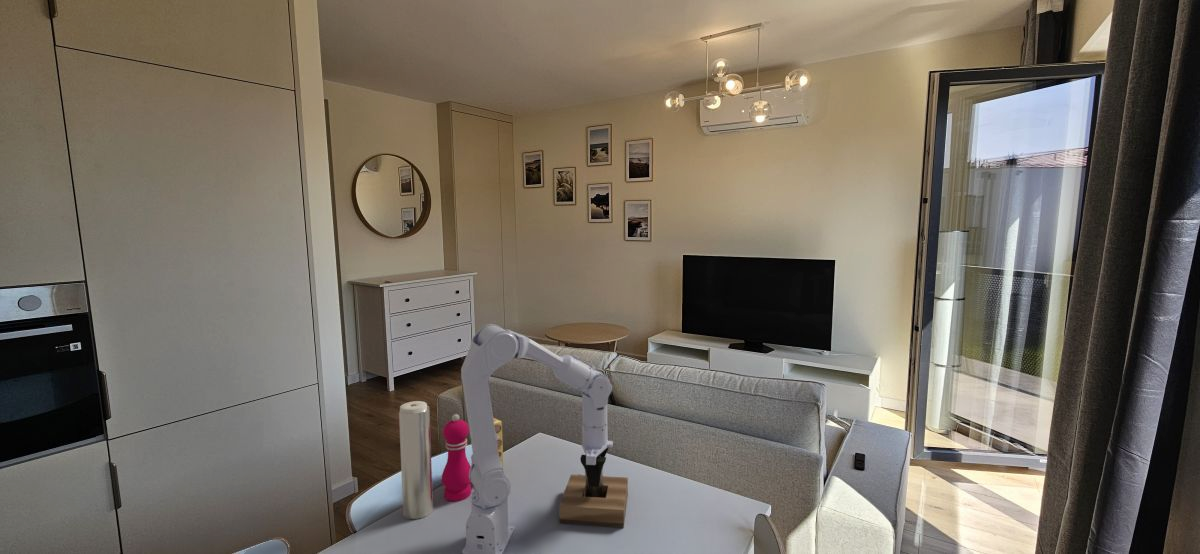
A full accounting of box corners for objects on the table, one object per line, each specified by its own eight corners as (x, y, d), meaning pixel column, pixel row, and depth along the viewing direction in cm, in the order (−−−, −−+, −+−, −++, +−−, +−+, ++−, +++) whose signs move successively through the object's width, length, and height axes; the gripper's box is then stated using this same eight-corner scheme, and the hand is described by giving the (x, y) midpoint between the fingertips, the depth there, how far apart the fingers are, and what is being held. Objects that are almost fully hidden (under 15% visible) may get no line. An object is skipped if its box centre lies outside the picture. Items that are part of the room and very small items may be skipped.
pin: (601, 497, 108) (600, 462, 107) (584, 496, 108) (582, 462, 108) (604, 488, 112) (603, 454, 111) (588, 487, 112) (586, 454, 112)
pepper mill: (477, 487, 120) (475, 409, 118) (466, 503, 112) (464, 420, 111) (449, 486, 120) (447, 408, 119) (437, 501, 113) (434, 419, 112)
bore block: (623, 527, 102) (623, 509, 102) (559, 523, 104) (559, 505, 104) (627, 493, 116) (627, 477, 116) (571, 490, 118) (570, 474, 118)
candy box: (504, 478, 124) (503, 420, 123) (490, 484, 121) (488, 425, 120) (486, 467, 130) (485, 412, 129) (472, 472, 127) (471, 416, 126)
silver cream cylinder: (423, 521, 105) (419, 410, 103) (396, 517, 107) (392, 408, 105) (438, 505, 112) (435, 400, 110) (413, 502, 113) (409, 398, 111)
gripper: (609, 437, 101) (609, 498, 102) (615, 412, 115) (615, 466, 116) (576, 435, 102) (576, 497, 103) (586, 411, 116) (586, 465, 117)
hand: (595, 480), depth 110 cm, fingers closed on pin, 4 cm apart
